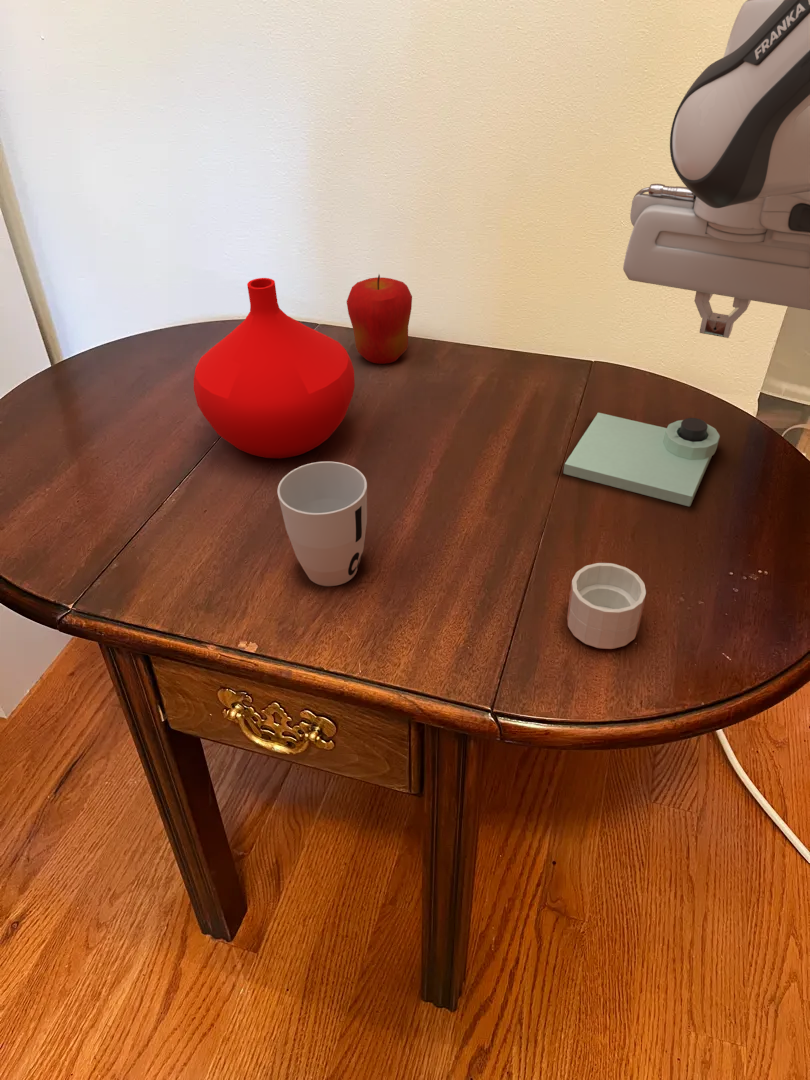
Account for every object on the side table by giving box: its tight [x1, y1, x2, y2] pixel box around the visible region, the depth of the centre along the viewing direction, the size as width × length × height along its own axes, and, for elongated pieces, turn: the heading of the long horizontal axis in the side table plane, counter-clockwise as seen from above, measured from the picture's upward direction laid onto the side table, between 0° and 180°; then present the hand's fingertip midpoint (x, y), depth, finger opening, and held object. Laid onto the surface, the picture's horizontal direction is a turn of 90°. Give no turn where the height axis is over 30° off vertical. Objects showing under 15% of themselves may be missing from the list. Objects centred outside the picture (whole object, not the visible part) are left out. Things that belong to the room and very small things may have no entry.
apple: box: [346, 274, 413, 365], centre depth 112 cm, size 9×8×12 cm
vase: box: [193, 277, 356, 459], centre depth 95 cm, size 18×18×19 cm
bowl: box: [566, 562, 647, 650], centre depth 74 cm, size 6×6×5 cm
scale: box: [563, 412, 721, 508], centre depth 94 cm, size 14×12×3 cm
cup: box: [276, 461, 368, 587], centre depth 79 cm, size 8×8×10 cm
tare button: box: [679, 417, 708, 442], centre depth 93 cm, size 3×3×2 cm
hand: (715, 333), depth 86 cm, fingers closed
